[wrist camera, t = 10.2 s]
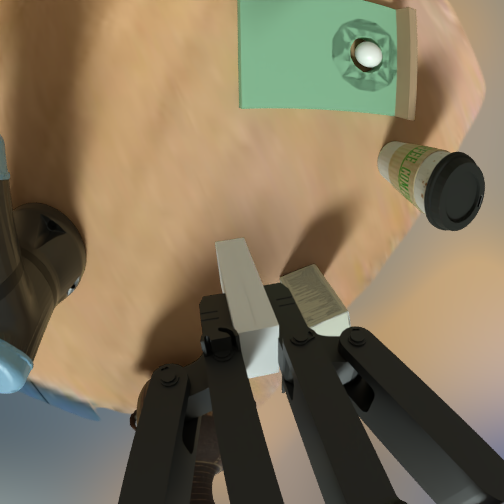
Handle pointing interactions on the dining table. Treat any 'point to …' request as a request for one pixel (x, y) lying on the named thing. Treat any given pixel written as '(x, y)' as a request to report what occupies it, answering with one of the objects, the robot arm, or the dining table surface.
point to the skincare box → (317, 301)
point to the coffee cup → (435, 182)
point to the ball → (368, 54)
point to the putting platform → (326, 56)
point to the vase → (197, 454)
